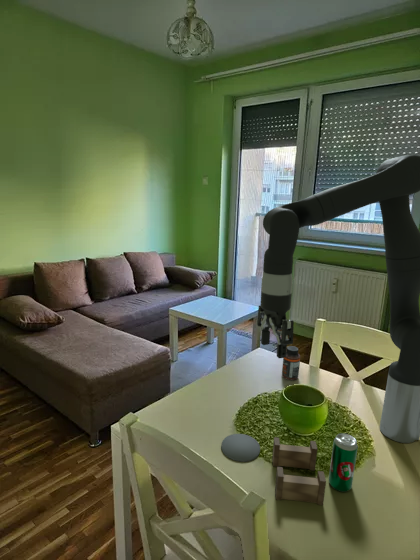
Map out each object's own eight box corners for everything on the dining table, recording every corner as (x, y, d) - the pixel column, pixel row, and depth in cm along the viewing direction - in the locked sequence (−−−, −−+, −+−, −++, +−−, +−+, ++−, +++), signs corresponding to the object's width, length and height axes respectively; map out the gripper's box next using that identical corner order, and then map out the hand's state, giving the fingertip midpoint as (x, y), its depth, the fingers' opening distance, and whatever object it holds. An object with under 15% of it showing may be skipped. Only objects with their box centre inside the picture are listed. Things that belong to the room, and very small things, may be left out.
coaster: (259, 437, 98) (259, 435, 98) (260, 463, 89) (260, 461, 88) (222, 433, 99) (222, 432, 99) (219, 459, 90) (220, 457, 89)
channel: (312, 462, 90) (315, 441, 88) (323, 505, 77) (326, 481, 76) (272, 458, 91) (274, 437, 89) (275, 499, 78) (278, 476, 77)
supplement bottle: (278, 373, 134) (281, 345, 131) (292, 372, 136) (295, 344, 133) (286, 381, 128) (289, 352, 126) (301, 379, 130) (304, 350, 127)
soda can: (333, 473, 86) (339, 429, 84) (354, 483, 83) (361, 438, 81) (324, 485, 83) (330, 439, 80) (347, 497, 80) (354, 450, 77)
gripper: (305, 296, 84) (300, 360, 88) (275, 282, 97) (272, 338, 101) (277, 299, 82) (273, 364, 86) (250, 284, 95) (247, 341, 99)
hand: (272, 350), depth 93 cm, fingers open, 8 cm apart
